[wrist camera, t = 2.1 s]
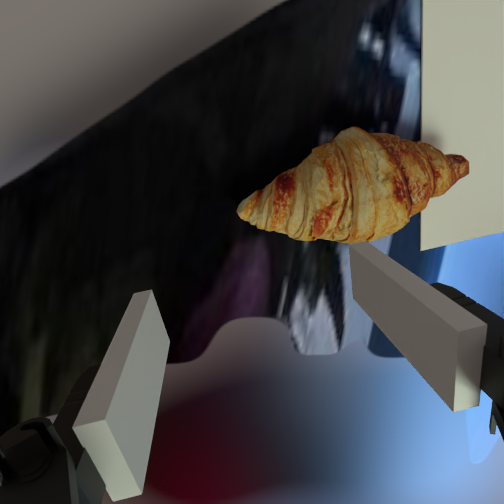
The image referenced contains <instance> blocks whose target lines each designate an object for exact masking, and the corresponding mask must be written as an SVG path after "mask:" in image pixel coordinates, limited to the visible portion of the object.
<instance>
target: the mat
mask: <svg viewBox="0 0 504 504" xmlns="http://www.w3.org/2000/svg"><path fill="white" fill-rule="evenodd" d="M421 142H424V143H427V144H430V145H432V146H433V147H434V148H436V149H438V150H440V151H442V153H443V154H444V155H446V154H457V155H462V156H464V157H465V158H466V159H467V160H468V161H469V171H470V172H469V174H468V175H466V176H465V177H463V178H461V179H459V180H458V181H457V182H456V183H455V184H454V185H453V186H452V187H451V188H450V189H449V190H448V191H447V192H446V193H445V194H443V195H441V196H439V197H434V198H430V199H429V202H428V204H427V207H426V208H425V209H424V210H422V211H421V212H420V251H422V250H427V249H431V248H435V247H440V246H444V245H448V244H453V243H457V242H461V241H465V240H470V239H474V238H478V237H483V236H487V235H491V234H496V233H500V232H504V0H422V12H421Z"/></svg>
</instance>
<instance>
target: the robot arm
mask: <svg viewBox="0 0 504 504" xmlns="http://www.w3.org/2000/svg"><path fill="white" fill-rule="evenodd" d="M349 254H350V267H351V279H352V291H353V299H354V300H355V301H356V302H357V303H358V304H359V305H360V307H361V308H362V309H363V310H364V311H365V312H366V313H367V314H368V316H369V317H370V318H371V319H372V320H373V321H374V322H375V324H376V325H377V326H378V327H379V328H380V329H381V330H382V332H383V333H384V334H385V335H386V336H387V337H388V338H389V339H390V341H391V342H392V343H393V344H394V345H395V346H396V347H397V349H398V350H399V351H400V352H401V353H402V354H403V355H404V357H405V358H406V359H407V360H408V361H409V362H410V363H411V365H412V366H413V367H414V368H415V369H416V370H417V371H418V372H419V374H420V375H421V376H422V377H423V378H424V379H425V380H426V382H427V383H428V384H429V385H430V386H431V387H432V388H433V389H434V391H435V392H436V393H437V394H438V395H439V396H440V398H441V399H442V400H443V401H444V402H445V403H446V404H447V405H448V407H449V408H450V409H451V410H452V411H453V412H457V411H460V410H464V409H468V408H472V407H476V406H479V402H480V392H481V389H482V390H483V391H484V392H485V393H486V394H487V395H488V396H489V397H490V398H491V399H492V400H493V401H492V409H491V417H490V425H489V428H490V434H495V431H496V425H497V426H498V428H499V431H500V433H501V435H502V438H503V440H504V319H503V318H501V317H500V316H498V315H496V314H495V313H493V312H492V311H490V310H488V309H487V308H485V307H484V306H482V305H480V304H479V303H478V304H477V303H476V301H474V300H473V299H471V298H469V297H466V295H465V294H463V293H461V292H460V291H458V290H457V289H455V288H453V287H450V286H447V285H444V284H441V283H438V282H437V283H433V284H428V283H426V282H425V281H423V280H422V279H420V278H419V277H417V276H416V275H415V274H413V273H412V272H410V271H409V270H407V269H406V268H404V267H403V266H401V265H400V264H398V263H397V262H396V261H394V260H393V259H391V258H390V257H388V256H387V255H385V254H384V253H382V252H381V251H379V250H378V249H377V248H375V247H374V246H372V245H371V244H369V243H368V242H366V241H362V242H358V243H353V244H349ZM169 343H170V341H169V338H168V335H167V332H166V329H165V327H164V324H163V321H162V318H161V315H160V312H159V309H158V307H157V304H156V301H155V298H154V295H153V292H152V290H148V291H144V292H139V293H135V294H133V297H132V299H131V301H130V303H129V305H128V308H127V310H126V312H125V314H124V316H123V318H122V321H121V323H120V325H119V327H118V329H117V331H116V334H115V336H114V338H113V340H112V342H111V344H110V347H109V349H108V351H107V353H106V355H105V357H104V360H103V362H102V364H99V365H95V366H91V367H88V368H87V369H86V370H85V371H84V372H83V374H82V375H81V376H80V377H79V378H78V379H77V380H76V382H75V384H74V386H73V387H72V389H71V391H70V395H68V397H67V399H66V401H65V403H64V406H62V408H61V410H60V412H59V414H58V416H57V418H56V419H55V421H54V423H53V424H52V422H51V421H50V419H48V418H45V417H37V418H32V419H29V420H27V421H24V422H22V423H20V424H18V425H17V426H15V427H13V428H12V429H10V430H9V431H7V432H6V433H5V434H4V435H3V436H2V437H0V504H101V502H102V498H103V495H104V492H105V488H106V490H107V491H108V493H109V495H110V497H111V499H112V500H113V501H118V500H121V499H125V498H129V497H133V496H137V495H140V494H142V491H143V486H144V480H145V475H146V468H147V464H148V458H149V453H150V447H151V442H152V436H153V431H154V425H155V419H156V414H157V409H158V404H159V398H160V392H161V387H162V381H163V376H164V371H165V365H166V360H167V354H168V349H169Z"/></svg>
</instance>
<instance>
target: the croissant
mask: <svg viewBox="0 0 504 504" xmlns="http://www.w3.org/2000/svg"><path fill="white" fill-rule="evenodd" d="M469 172H470V171H469V161H468V160H467V159H466V158H465V157H464V156H462V155H457V154H446V155H444V154H443V153H442V151H440V150H438V149H436V148H434V147H433V146H432V145H430V144H427V143H424V142H421V141H417V142H413V141H411V140H408V139H400V137H399V136H394V135H392V134H388V133H372V134H370V133H368V132H366V131H365V130H363V129H361V128H359V127H350V128H348V129H346V130H343V131H341V132H340V133H339V134H338V135H337V136H336V137H335V138H334V139H333V141H332V142H330V143H325V144H323V145H321V146H318V147H316V148H313V149H312V153H311V154H310V155H309V156H308V157H307V158H306V159H304V160H303V162H302V163H301V164H299V165H298V166H297V167H295V168H292V169H289V170H288V171H285V172H283V173H281V174H279V175H278V176H277V177H276V178H275V179H274V180H273V181H272V182H271V183H270V184H268V185H267V186H266V187H265V188H264V189H262V190H257V191H255V192H254V193H253V194H252V195H250V196H249V197H248V198H246V199H244V200H243V201H242V202H241V203H240V204H239V206H238V209H237V213H238V215H239V217H240V218H241V219H243V220H245V221H249V222H250V224H251V225H257V228H258V229H265V230H267V231H273V230H274V231H276V232H279V233H284V234H288V236H289V237H291V238H293V239H296V240H303V241H314V240H316V239H318V238H321V239H325V240H331V241H334V240H335V241H337V242H342V243H352V244H353V243H358V242H362V241H366V242H369V241H373V240H375V239H380V238H383V237H385V236H387V235H390V234H393V233H395V232H396V231H398V230H400V229H401V228H402V227H404V226H405V225H406V224H407V223H408V222H409V221H410V218H409V217H411V216H412V215H414V214H416V213H418V212H421V211H422V210H424V209H425V208H426V207H427V204H428V202H429V199H430V198H434V197H439V196H441V195H443V194H445V193H446V192H447V191H448V190H449V189H450V188H451V187H452V186H453V185H454V184H455V183H456V182H457V181H458V180H459V179H461V178H463V177H465V176H466V175H468V174H469Z"/></svg>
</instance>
